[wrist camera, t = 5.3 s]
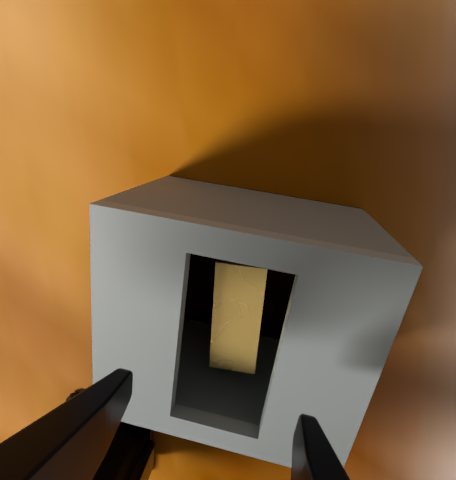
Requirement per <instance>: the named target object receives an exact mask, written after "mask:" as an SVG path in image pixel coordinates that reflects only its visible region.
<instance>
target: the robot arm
mask: <svg viewBox="0 0 456 480" xmlns="http://www.w3.org/2000/svg"><path fill="white" fill-rule="evenodd" d="M132 386H133V373H132V371H131V370H127V369H123V368H119V369H116V370H115V371H113V372H112V373H110V374H108V375H107V376H105V377H104V378H102V379H101V380H99V381H97V382H96V383H94V384H93V385H91V386H90V387H88V388H86V389H85V390H83V391H82V392H80V393H79V394H78V393H71V394H70V395H69V397H68V398H67V399H66V402H64V403H63V404H61V405H60V406H58V407H57V408H55V409H53V410H52V411H50V412H49V413H47V414H46V415H44V416H42V417H41V418H39V419H38V420H36V421H35V422H33V423H31V424H30V425H28V426H27V427H25V428H24V429H22V430H20V431H19V432H17V433H16V434H14V435H13V436H11V437H9V438H8V439H6V440H5V441H3V442H2V443H0V480H148V479H149V476H150V474H151V471H152V469H153V464H154V452H155V443H154V441H153V440H152V431H153V430H151V429H147V428H143V427H139V426H136V425H132V424H128V423H125V422H121V419H122V417H123V415H124V413H125V410H126V408H127V406H128V404H129V401H130V399H131V396H132ZM291 480H350V479H349V477H348V475H347V473H346V471H345V469H344V468H343V466H342V464H341V462H340V460H339V459H338V457H337V455H336V453H335V451H334V450H333V448H332V446H331V444H330V442H329V440H328V439H327V437H326V435H325V433H324V431H323V430H322V428H321V426H320V424H319V422H318V420H317V419H316V418H315V417H314V416H311V415H307V414H300V416H299V418H298V421H297V425H296V428H295V431H294V435H293V443H292V467H291Z"/></svg>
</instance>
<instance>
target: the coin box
mask: <svg viewBox="0 0 456 480" xmlns="http://www.w3.org/2000/svg"><path fill="white" fill-rule="evenodd" d="M191 254H195V255H200V256H205V257H210V258H215V259H220V260H225V261H230V262H235V263H240V264H245V265H250V266H255V267H260V268H265V269H270V270H275V271H280V272H285V273H290V274H295V279H294V283H293V287H292V291H291V295H290V299H289V304H288V308H287V312H286V316H285V320H284V324H283V329H282V333H281V337H280V340H278V339H274V338H269V337H265V336H261V335H259V342H258V350H257V359H256V367H255V374H250V373H244V372H238V371H232V370H226V369H220V368H215V367H209V362H210V345H211V329H212V324H207V323H203V322H198V321H194V320H189V319H185V318H184V313H185V303H186V293H187V284H188V274H189V265H190V255H191ZM90 258H91V312H92V366H93V384H94V383H96V382H97V381H99V380H101V379H102V378H104V377H105V376H107V375H108V374H110V373H112V372H113V371H115V370H116V369H119V368H123V369H127V370H131V371H132V373H133V386H132V396H131V399H130V401H129V404H128V406H127V408H126V410H125V413H124V415H123V417H122V419H121V422H125V423H128V424H132V425H136V426H139V427H143V428H147V429H151V430H154V431H158V432H162V433H165V434H169V435H173V436H176V437H180V438H184V439H187V440H191V441H195V442H198V443H202V444H206V445H209V446H213V447H217V448H220V449H224V450H228V451H232V452H235V453H239V454H243V455H246V456H250V457H254V458H257V459H261V460H265V461H268V462H272V463H276V464H279V465H283V466H287V467H290V468H291V467H292V443H293V435H294V431H295V428H296V425H297V421H298V418H299V416H300V414H307V415H311V416H314V417H315V418H316V419H317V420H318V422H319V424H320V426H321V428H322V430H323V431H324V433H325V435H326V437H327V439H328V440H329V442H330V444H331V446H332V448H333V450H334V451H335V453H336V455H337V457H338V459H339V460H340V462H341V464H342V466H343V468H344V465H345V463H346V460H347V458H348V455H349V453H350V450H351V448H352V445H353V443H354V440H355V438H356V435H357V433H358V430H359V428H360V425H361V422H362V420H363V417H364V415H365V412H366V410H367V407H368V405H369V402H370V400H371V397H372V395H373V392H374V390H375V387H376V385H377V382H378V380H379V377H380V375H381V372H382V370H383V367H384V365H385V362H386V360H387V357H388V355H389V352H390V349H391V347H392V344H393V342H394V339H395V337H396V334H397V332H398V329H399V327H400V324H401V322H402V319H403V317H404V314H405V312H406V309H407V307H408V304H409V302H410V299H411V297H412V294H413V292H414V289H415V287H416V284H417V282H418V279H419V277H420V274H421V271H422V269H423V265H421V264H420V263H419V262H418V261H417V260H416V259H415V258H414V257H413V256H412V255H411V254H410V253H409V252H408V251H407V250H406V249H405V248H404V247H403V246H401V245H400V244H399V243H398V242H397V241H396V240H395V239H394V238H393V237H392V236H391V235H390V234H389V233H388V232H387V231H386V230H385V229H384V228H383V227H381V226H380V225H379V224H378V223H377V222H376V221H375V220H374V219H373V218H372V217H371V216H370V215H369V214H368V213H367V212H366V211H365V210H364V209H360V208H354V207H348V206H343V205H337V204H331V203H325V202H319V201H313V200H307V199H302V198H296V197H290V196H284V195H278V194H272V193H267V192H261V191H255V190H249V189H243V188H237V187H231V186H226V185H220V184H214V183H208V182H202V181H196V180H190V179H185V178H179V177H173V176H166V177H163V178H160V179H157V180H154V181H152V182H149V183H146V184H143V185H141V186H138V187H135V188H132V189H129V190H127V191H124V192H121V193H118V194H115V195H113V196H110V197H107V198H104V199H101V200H99V201H96V202H93V203H90Z"/></svg>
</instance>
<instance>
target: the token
mask: <svg viewBox="0 0 456 480" xmlns="http://www.w3.org/2000/svg"><path fill="white" fill-rule="evenodd" d="M267 270H268V269H265V268H260V267H255V266H250V265H245V264H240V263H235V262H230V261H225V260H220V259H217V261H216V263H215V280H214V296H213V313H212V329H211V345H210V362H209V367H215V368H220V369H226V370H232V371H238V372H244V373H250V374H255V367H256V359H257V350H258V342H259V334H260V326H261V318H262V310H263V302H264V294H265V286H266V278H267Z"/></svg>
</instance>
